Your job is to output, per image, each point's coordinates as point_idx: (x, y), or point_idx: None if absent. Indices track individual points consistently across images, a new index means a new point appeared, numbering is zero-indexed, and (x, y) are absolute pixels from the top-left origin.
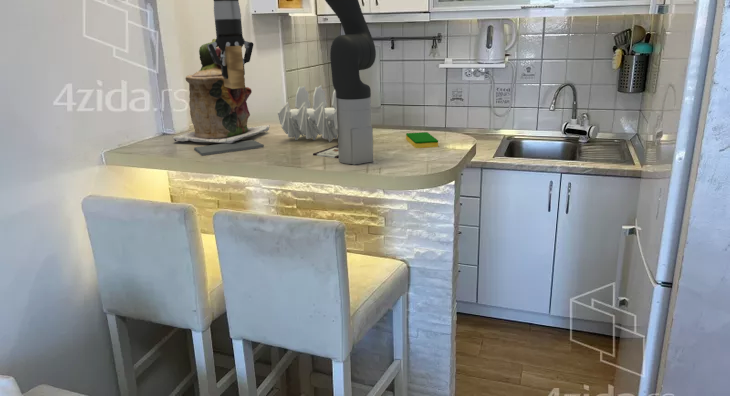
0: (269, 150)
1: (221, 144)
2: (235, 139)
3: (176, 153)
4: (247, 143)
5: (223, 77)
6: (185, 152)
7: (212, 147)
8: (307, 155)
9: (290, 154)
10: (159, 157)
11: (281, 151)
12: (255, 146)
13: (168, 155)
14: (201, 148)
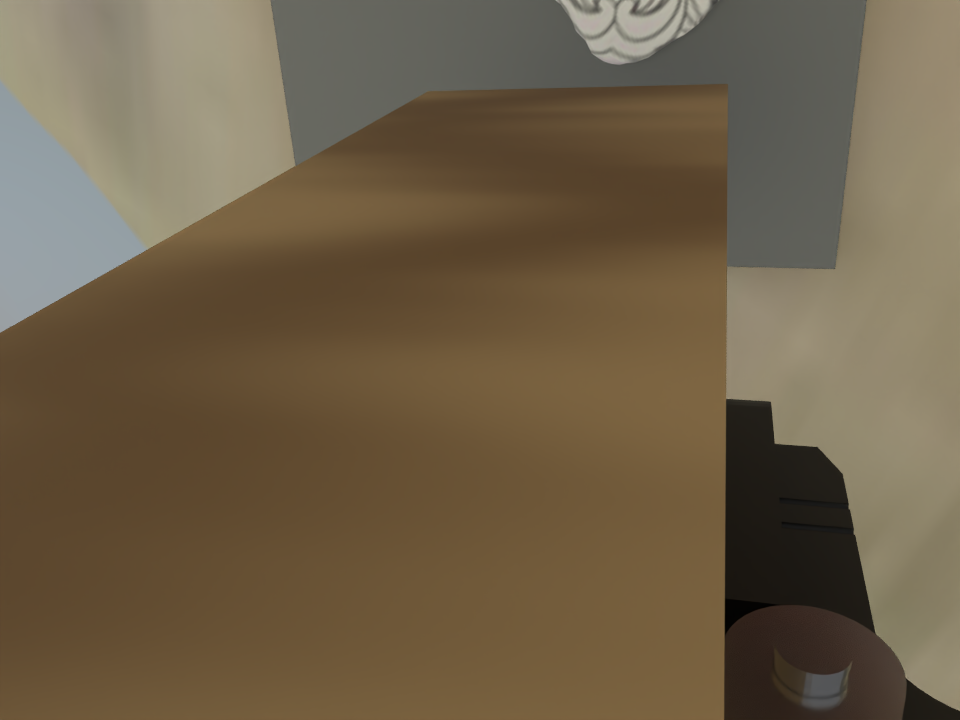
0: (815, 392)
1: (507, 4)
2: (632, 62)
3: (145, 38)
4: (735, 115)
5: (356, 139)
6: (209, 43)
7: (409, 96)
8: (957, 683)
9: (877, 593)
10: (40, 108)
11: (876, 479)
12: (752, 264)
13: (93, 77)
14: (321, 78)
